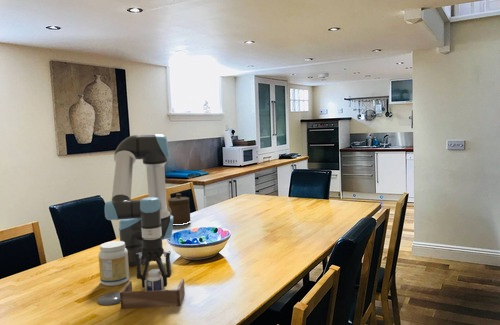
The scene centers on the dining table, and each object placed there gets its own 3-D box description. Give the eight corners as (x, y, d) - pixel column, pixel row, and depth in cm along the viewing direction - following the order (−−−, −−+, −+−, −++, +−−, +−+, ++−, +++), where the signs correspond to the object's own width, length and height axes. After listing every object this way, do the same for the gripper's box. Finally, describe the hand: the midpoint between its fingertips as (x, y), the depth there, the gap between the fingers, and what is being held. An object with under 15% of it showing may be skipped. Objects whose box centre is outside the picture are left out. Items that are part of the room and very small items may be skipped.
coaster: (103, 294, 162) (103, 292, 162) (130, 292, 162) (130, 291, 162) (93, 305, 151) (93, 304, 151) (122, 304, 151) (122, 303, 151)
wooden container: (173, 221, 290) (171, 191, 289) (193, 221, 288) (191, 191, 286) (166, 226, 276) (164, 195, 274) (187, 226, 274) (185, 194, 272)
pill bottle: (164, 291, 159) (162, 267, 158) (161, 298, 154) (160, 273, 153) (149, 292, 159) (148, 268, 158) (146, 298, 154) (145, 273, 153)
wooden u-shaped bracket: (130, 295, 159) (129, 280, 159) (184, 292, 160) (183, 278, 159) (120, 308, 147) (119, 293, 147) (180, 306, 148) (179, 290, 147)
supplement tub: (107, 276, 181) (104, 240, 180) (133, 276, 181) (131, 239, 180) (95, 287, 169) (93, 248, 168) (124, 286, 169) (121, 247, 167)
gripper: (125, 241, 150) (128, 300, 152) (174, 239, 151) (177, 297, 153) (130, 235, 158) (134, 291, 160) (177, 233, 158) (180, 290, 160)
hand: (155, 294), depth 156 cm, fingers closed on pill bottle, 6 cm apart
